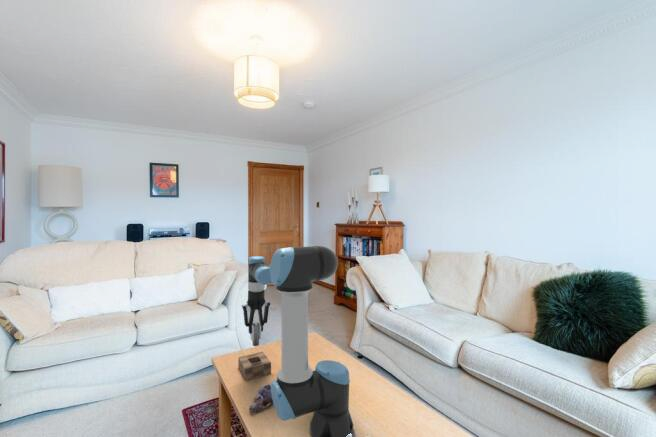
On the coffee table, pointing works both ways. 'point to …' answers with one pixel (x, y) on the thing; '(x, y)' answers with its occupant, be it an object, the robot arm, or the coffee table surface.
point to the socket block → (254, 365)
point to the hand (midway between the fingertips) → (255, 338)
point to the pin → (256, 334)
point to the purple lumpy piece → (262, 399)
